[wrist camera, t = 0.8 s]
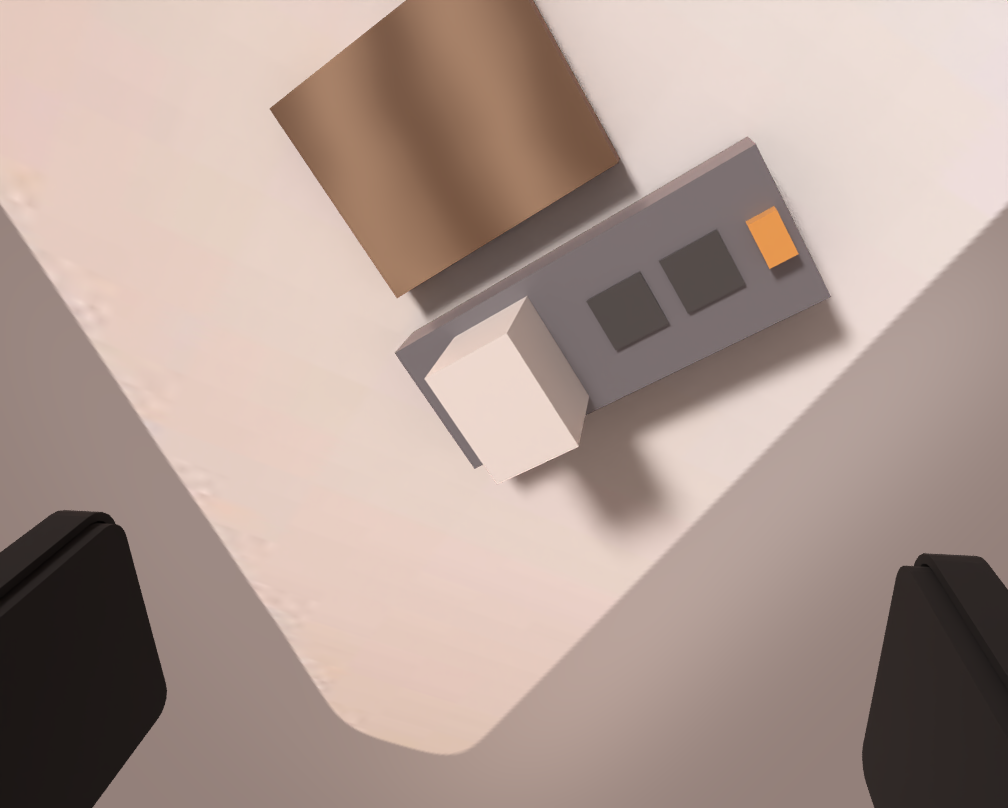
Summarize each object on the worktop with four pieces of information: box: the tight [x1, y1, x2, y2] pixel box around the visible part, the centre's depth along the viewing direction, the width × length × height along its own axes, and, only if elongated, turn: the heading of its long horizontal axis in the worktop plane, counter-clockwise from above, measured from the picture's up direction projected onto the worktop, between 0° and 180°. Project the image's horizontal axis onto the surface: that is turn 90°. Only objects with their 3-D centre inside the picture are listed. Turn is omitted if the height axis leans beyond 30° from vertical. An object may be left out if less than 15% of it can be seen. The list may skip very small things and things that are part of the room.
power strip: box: [395, 137, 831, 469], centre depth 34 cm, size 18×7×4 cm, turn 122°
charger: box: [424, 296, 589, 485], centre depth 33 cm, size 4×6×6 cm
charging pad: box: [270, 0, 620, 298], centre depth 33 cm, size 12×10×2 cm
